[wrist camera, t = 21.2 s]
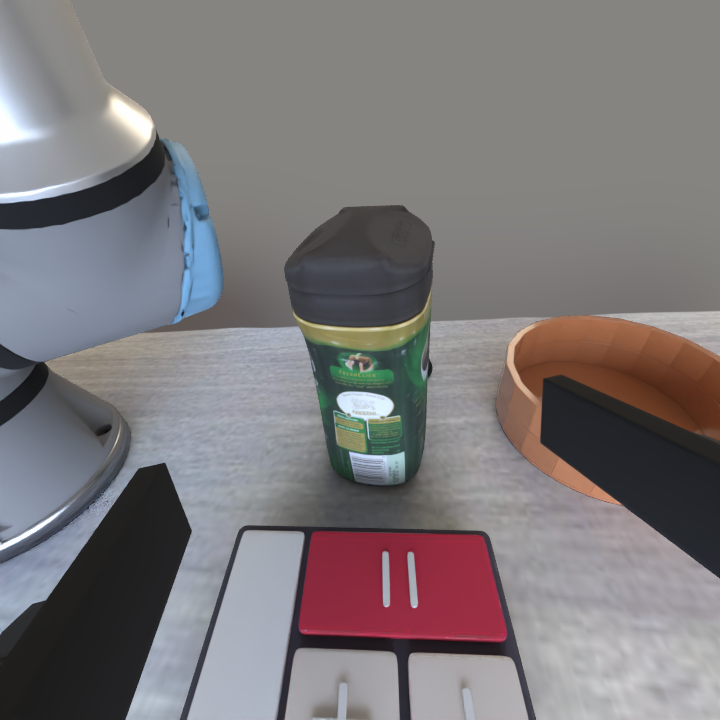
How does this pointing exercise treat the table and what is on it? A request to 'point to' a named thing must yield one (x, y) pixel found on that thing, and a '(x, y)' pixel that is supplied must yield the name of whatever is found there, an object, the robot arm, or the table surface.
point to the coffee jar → (368, 336)
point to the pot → (605, 381)
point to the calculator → (360, 629)
